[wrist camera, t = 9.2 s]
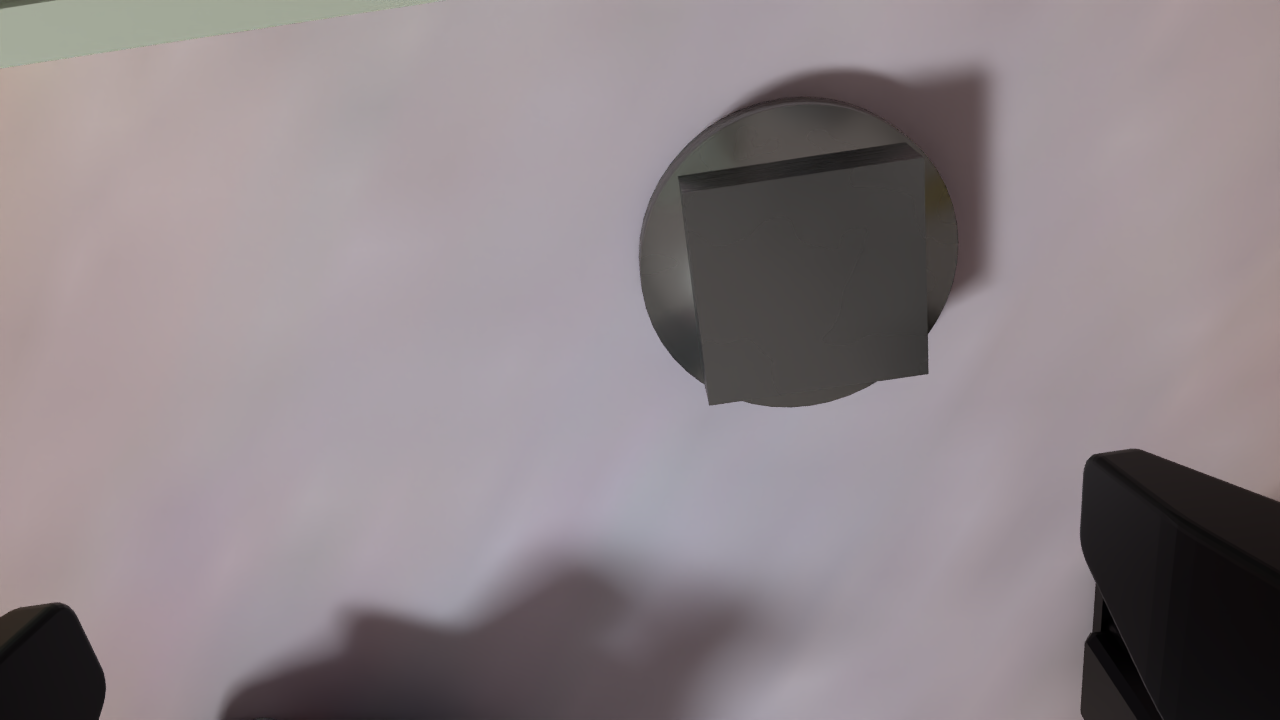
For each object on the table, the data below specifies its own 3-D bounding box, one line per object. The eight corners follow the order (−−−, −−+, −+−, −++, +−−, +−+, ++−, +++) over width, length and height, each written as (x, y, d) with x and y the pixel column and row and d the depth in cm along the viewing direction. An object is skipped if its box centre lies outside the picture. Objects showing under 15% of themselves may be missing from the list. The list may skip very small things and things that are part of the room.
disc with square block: (943, 73, 20) (979, 93, 18) (946, 368, 22) (978, 410, 20) (617, 123, 20) (620, 147, 18) (660, 409, 22) (665, 455, 21)
